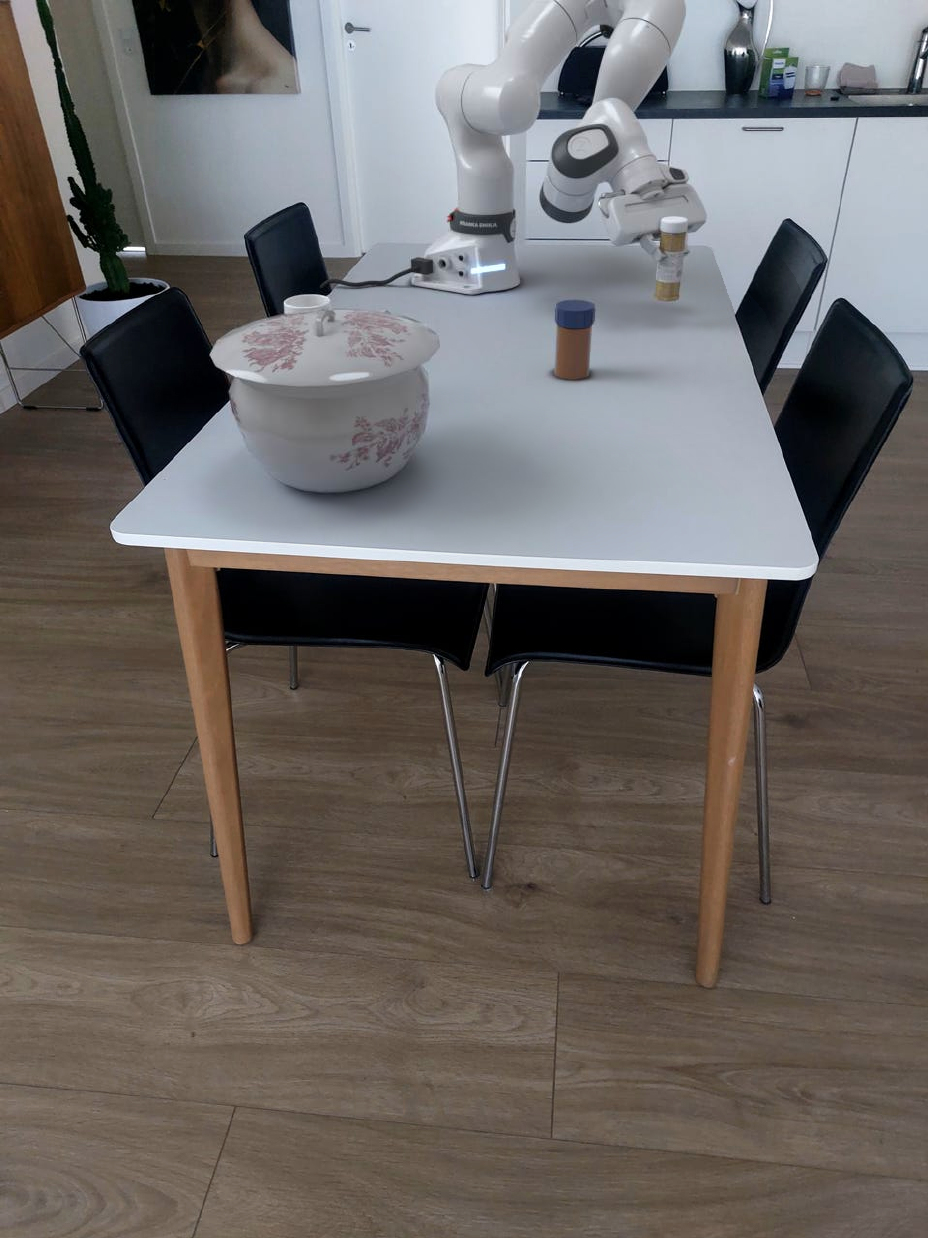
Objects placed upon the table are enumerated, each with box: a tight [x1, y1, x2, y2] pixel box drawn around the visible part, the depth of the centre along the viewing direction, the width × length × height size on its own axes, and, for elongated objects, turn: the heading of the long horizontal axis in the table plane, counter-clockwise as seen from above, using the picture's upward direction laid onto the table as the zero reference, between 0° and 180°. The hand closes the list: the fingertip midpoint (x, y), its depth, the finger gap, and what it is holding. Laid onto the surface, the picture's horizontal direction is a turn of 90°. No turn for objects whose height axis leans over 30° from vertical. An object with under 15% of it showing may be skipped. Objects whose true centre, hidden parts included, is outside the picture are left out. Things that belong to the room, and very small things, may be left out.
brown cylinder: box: [554, 324, 593, 381], centre depth 149 cm, size 6×6×10 cm
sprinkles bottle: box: [653, 216, 688, 302], centre depth 165 cm, size 5×5×13 cm
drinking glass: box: [283, 294, 333, 314], centre depth 139 cm, size 7×7×15 cm
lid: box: [554, 299, 596, 328], centre depth 146 cm, size 6×6×3 cm
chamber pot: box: [209, 307, 441, 494], centre depth 118 cm, size 28×28×21 cm
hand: (673, 257), depth 164 cm, fingers closed on sprinkles bottle, 4 cm apart
